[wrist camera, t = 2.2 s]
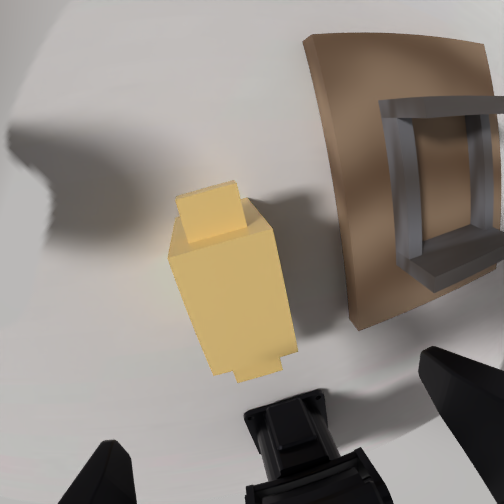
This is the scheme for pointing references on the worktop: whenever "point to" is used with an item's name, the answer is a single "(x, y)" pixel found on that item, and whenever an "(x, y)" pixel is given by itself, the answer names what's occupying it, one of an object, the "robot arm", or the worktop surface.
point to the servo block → (231, 282)
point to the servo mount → (409, 165)
